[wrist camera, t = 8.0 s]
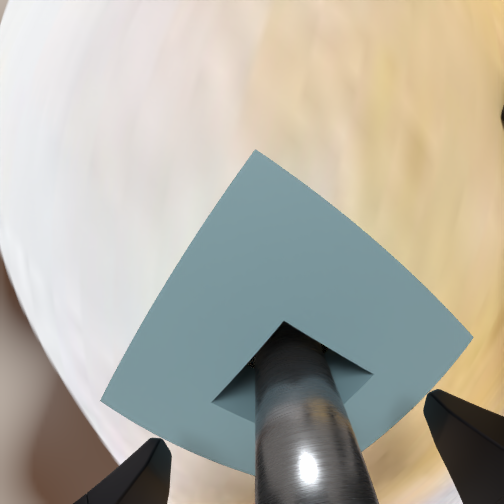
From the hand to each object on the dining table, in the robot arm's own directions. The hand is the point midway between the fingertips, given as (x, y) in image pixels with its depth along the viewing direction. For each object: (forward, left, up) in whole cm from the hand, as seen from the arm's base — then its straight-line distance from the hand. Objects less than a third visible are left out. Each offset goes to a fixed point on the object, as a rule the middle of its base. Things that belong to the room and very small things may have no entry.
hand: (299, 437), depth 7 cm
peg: (0, 0, -6) cm, 6 cm away
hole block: (0, 0, -6) cm, 6 cm away
